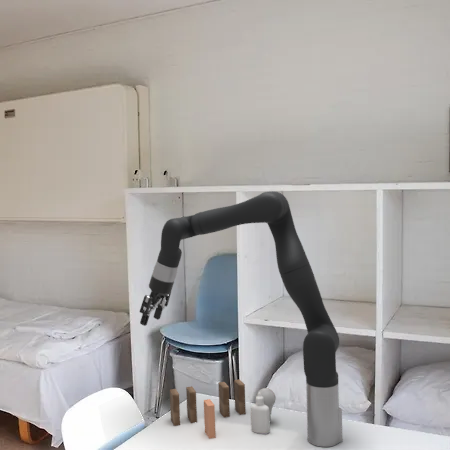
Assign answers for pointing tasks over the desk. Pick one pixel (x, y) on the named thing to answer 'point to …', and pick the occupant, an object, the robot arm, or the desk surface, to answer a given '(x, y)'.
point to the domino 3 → (209, 418)
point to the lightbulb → (268, 398)
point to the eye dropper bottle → (260, 416)
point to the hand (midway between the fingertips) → (149, 321)
